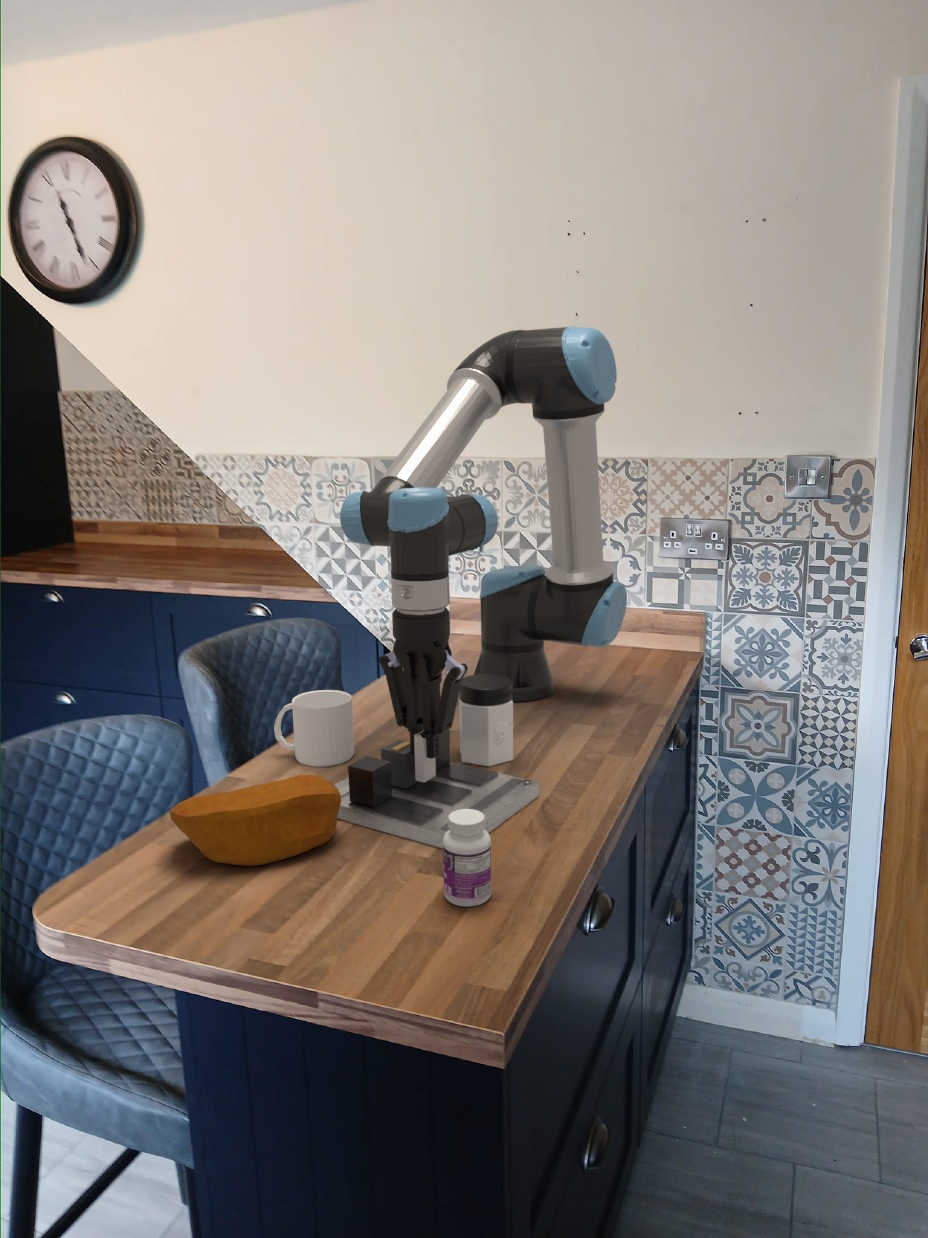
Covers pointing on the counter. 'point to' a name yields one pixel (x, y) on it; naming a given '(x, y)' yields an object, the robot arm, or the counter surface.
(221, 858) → the bread
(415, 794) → the panel
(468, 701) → the jar
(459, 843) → the pill bottle
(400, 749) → the handle
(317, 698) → the mug
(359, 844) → the counter surface
